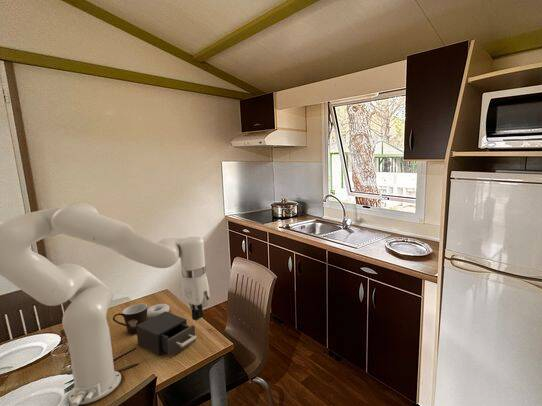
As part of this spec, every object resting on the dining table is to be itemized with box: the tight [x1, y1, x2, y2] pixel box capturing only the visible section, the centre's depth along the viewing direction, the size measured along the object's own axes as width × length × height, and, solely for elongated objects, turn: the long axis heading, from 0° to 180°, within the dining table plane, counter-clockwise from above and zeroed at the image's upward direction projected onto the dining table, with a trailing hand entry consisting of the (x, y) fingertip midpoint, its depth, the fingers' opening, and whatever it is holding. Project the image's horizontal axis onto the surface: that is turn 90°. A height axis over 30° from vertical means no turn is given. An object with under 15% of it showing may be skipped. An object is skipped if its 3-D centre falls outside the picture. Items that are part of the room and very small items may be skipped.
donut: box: [147, 303, 170, 320], centre depth 131 cm, size 10×4×10 cm
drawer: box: [160, 323, 198, 358], centre depth 108 cm, size 17×10×7 cm, turn 65°
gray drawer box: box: [136, 311, 188, 356], centre depth 111 cm, size 14×12×9 cm
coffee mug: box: [112, 303, 148, 336], centre depth 118 cm, size 12×9×10 cm
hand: (197, 318), depth 101 cm, fingers closed
